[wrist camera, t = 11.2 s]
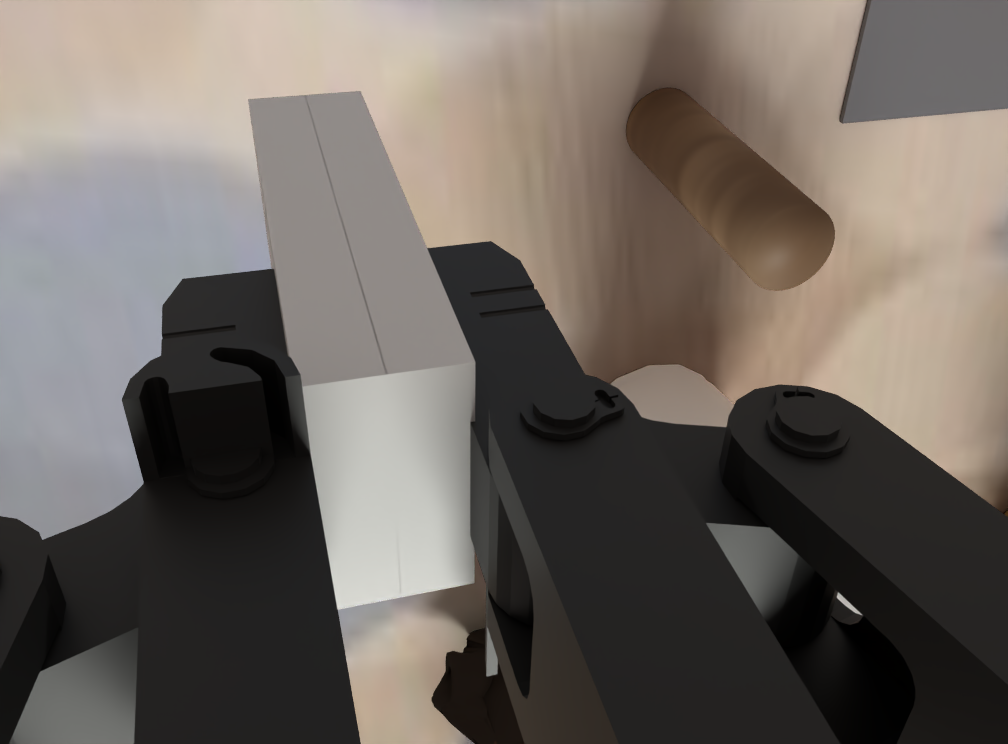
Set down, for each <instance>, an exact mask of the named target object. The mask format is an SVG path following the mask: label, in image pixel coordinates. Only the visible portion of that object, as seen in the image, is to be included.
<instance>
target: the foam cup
mask: <svg viewBox="0 0 1008 744" xmlns="http://www.w3.org/2000/svg"><path fill="white" fill-rule="evenodd" d="M610 385H612V386H614V387H616V388H618V389H619V390H620V391H621V392H622V393H623V394H624V395H625V396H626V397H627V398H628V399H629V400H630V401H631V402H632V403H633V404H634V406H635V407H636V409H637V411H638V412H639V414H640V415H641V417H643V418H646V419H650V420H653V421H660V422H667V423H674V424H688V425H702V426H717V427H726V426H727V421H728V416H729V414H730V412H731V410H732V409H733V407H734V404H733V403H732V402H731V401H730V400H729V399H728V398H727V397H726V396H725V395H724V394H722V393H721V392H720V391H719V390H718V389H717V388H716V387H715V386H714V385H713V384H712V383H710V382H708V381H707V380H706V379H705V378H704V376H703V375H701V374H698V373H696V372H694V371H692V370H690V369H688V368H686V367H684V366H682V365H680V364H676V365H648V366H645V367H643V368H641V369H638V370H636V371H633V372H631V373H628V374H626V375H624V376H621V377H619V378H616V379H615V380H614V381H613V382H612V383H611V384H610ZM837 598H838V599H839V600H840V601H841V602H842V603H843V604H844V605H845V606H846V607H848V608H849V609H851V610H852V611H853V612H855V613H857V614H860V615H862V614H861V613H860V612H859V611H858V610H857V609H856V608H854V607H853V606H852V605H851V604H850V603H849V602H848V601H847V600H846V599H845V598H844V597H843V596H842V595H841V594H840V593H839V592H838V595H837Z"/></svg>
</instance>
